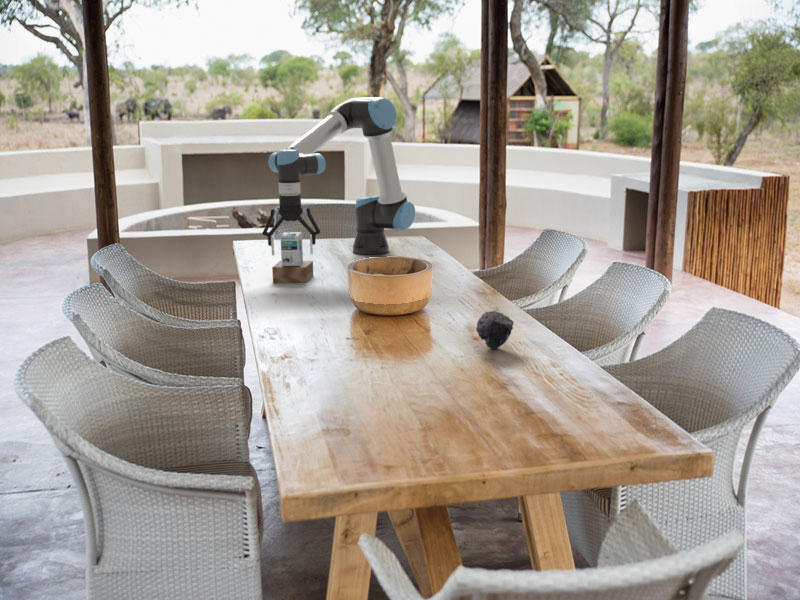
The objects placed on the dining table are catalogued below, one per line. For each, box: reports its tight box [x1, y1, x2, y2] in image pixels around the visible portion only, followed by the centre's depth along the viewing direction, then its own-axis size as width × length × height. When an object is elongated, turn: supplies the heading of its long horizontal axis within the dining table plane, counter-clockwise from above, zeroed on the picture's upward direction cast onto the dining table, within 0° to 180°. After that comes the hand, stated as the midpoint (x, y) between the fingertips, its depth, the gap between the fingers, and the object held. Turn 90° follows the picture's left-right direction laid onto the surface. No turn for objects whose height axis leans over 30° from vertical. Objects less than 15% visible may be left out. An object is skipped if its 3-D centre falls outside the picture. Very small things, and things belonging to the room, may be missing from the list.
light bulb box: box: [280, 231, 304, 266], centre depth 296 cm, size 11×7×11 cm, turn 1°
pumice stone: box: [475, 310, 514, 350], centre depth 214 cm, size 10×8×10 cm
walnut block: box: [271, 260, 314, 284], centre depth 298 cm, size 12×12×6 cm
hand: (292, 254), depth 297 cm, fingers open, 13 cm apart
